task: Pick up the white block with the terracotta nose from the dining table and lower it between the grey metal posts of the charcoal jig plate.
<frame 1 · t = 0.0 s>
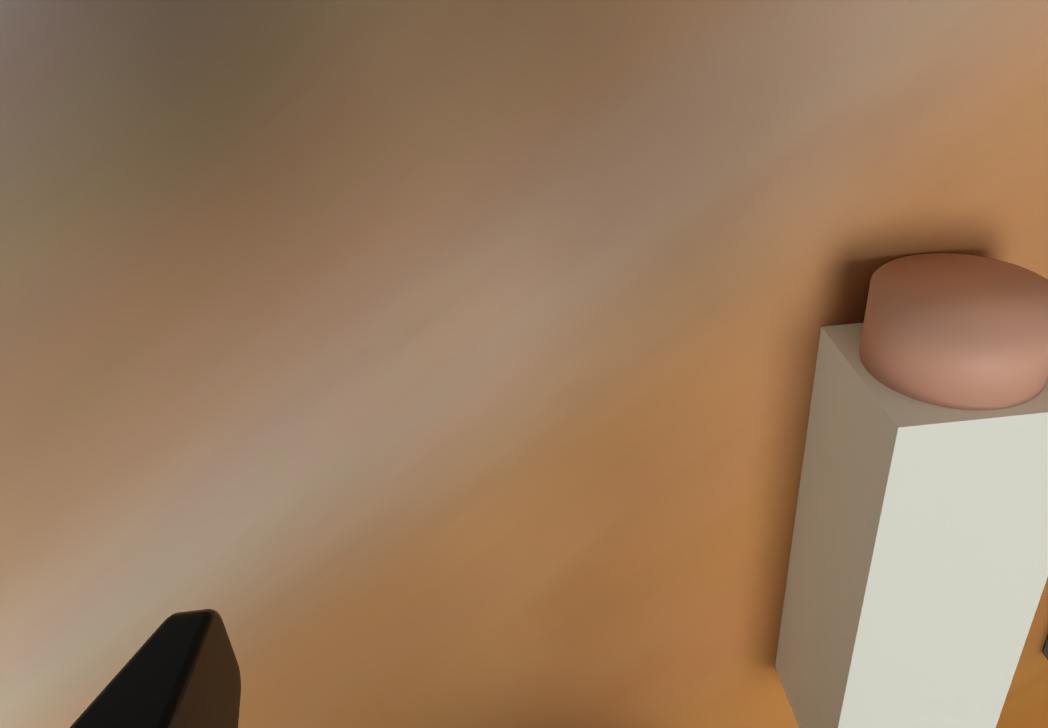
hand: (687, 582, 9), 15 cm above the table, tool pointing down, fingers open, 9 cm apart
white block: (869, 506, 29), on the table
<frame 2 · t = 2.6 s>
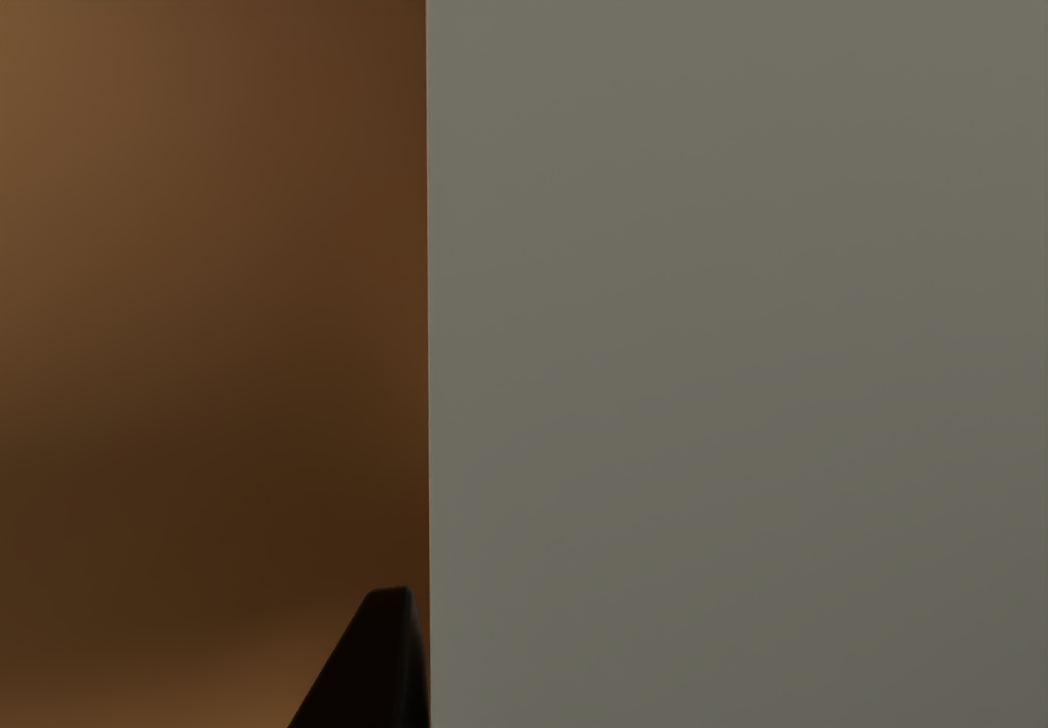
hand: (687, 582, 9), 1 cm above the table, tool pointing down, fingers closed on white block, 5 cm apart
white block: (659, 522, 10), on the table, touching gripper
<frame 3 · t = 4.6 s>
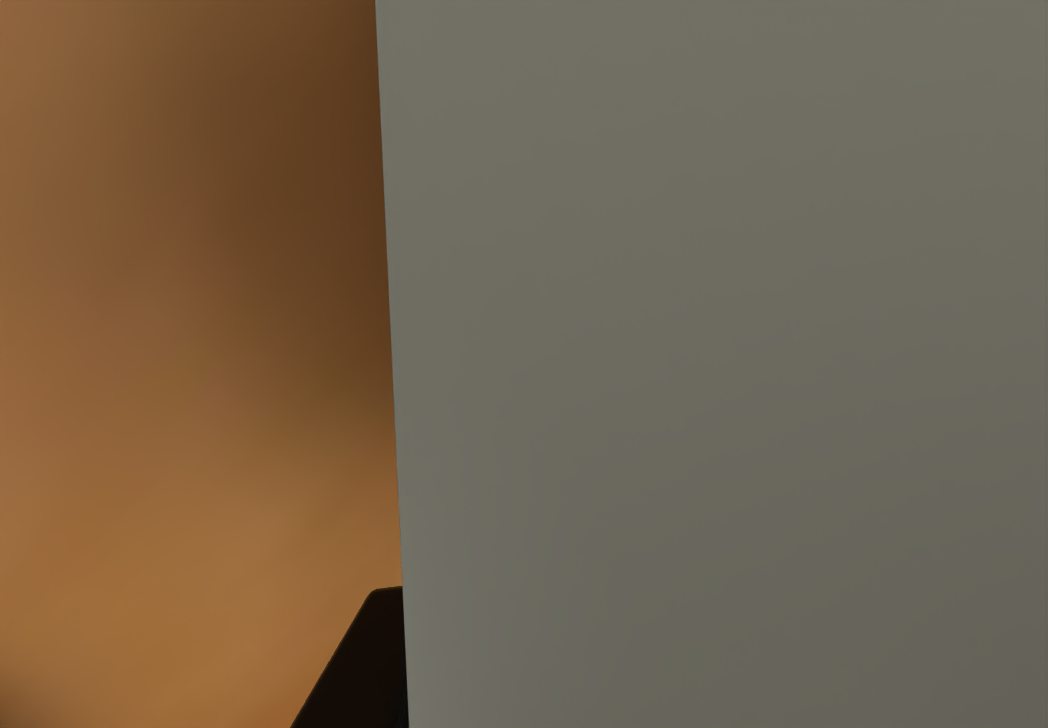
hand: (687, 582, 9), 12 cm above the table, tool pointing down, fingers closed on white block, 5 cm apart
white block: (657, 522, 10), point 10 cm above the table, touching gripper
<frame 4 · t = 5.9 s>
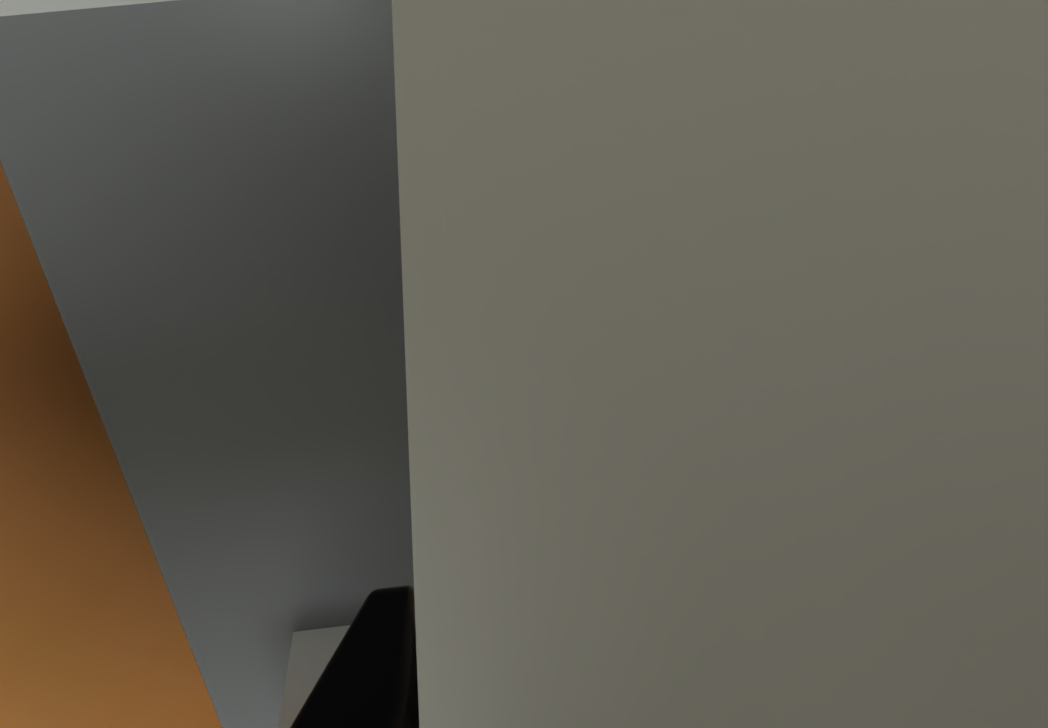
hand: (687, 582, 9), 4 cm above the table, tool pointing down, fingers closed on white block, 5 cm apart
jig: (615, 289, 12), on the table
white block: (661, 521, 10), point 3 cm above the table, touching gripper
when the fingers open (3 cm above the table, at t = 6.8 s): white block drops 1 cm, resting on jig.
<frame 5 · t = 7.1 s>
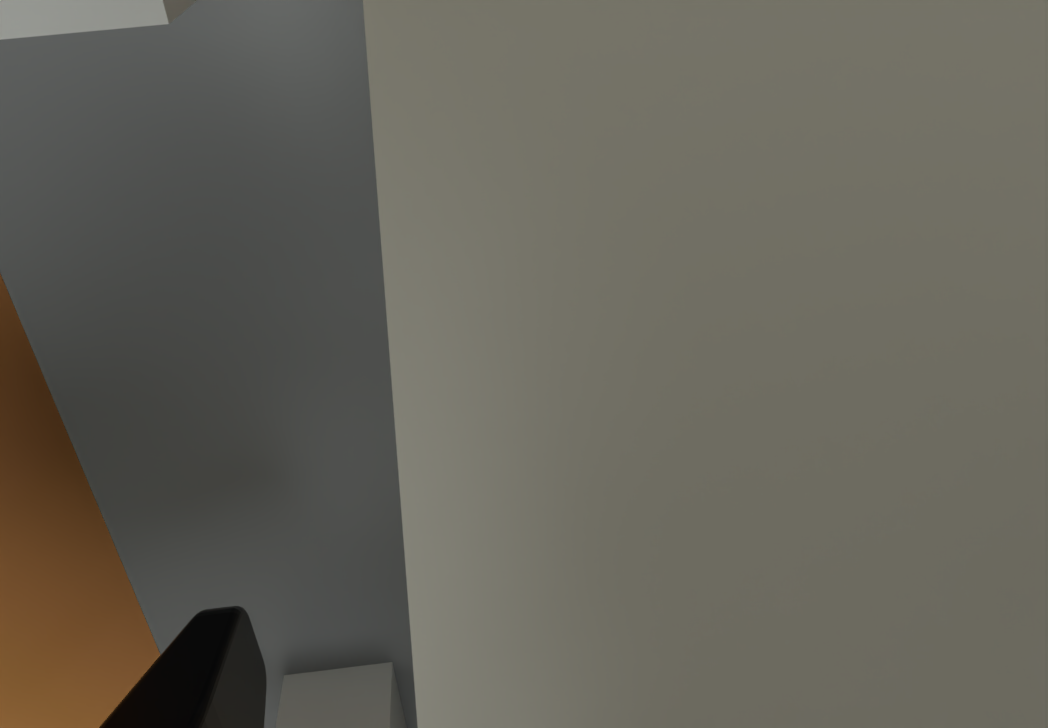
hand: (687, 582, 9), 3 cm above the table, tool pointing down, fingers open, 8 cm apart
jig: (622, 319, 11), on the table
white block: (633, 446, 11), point 1 cm above the table, touching jig
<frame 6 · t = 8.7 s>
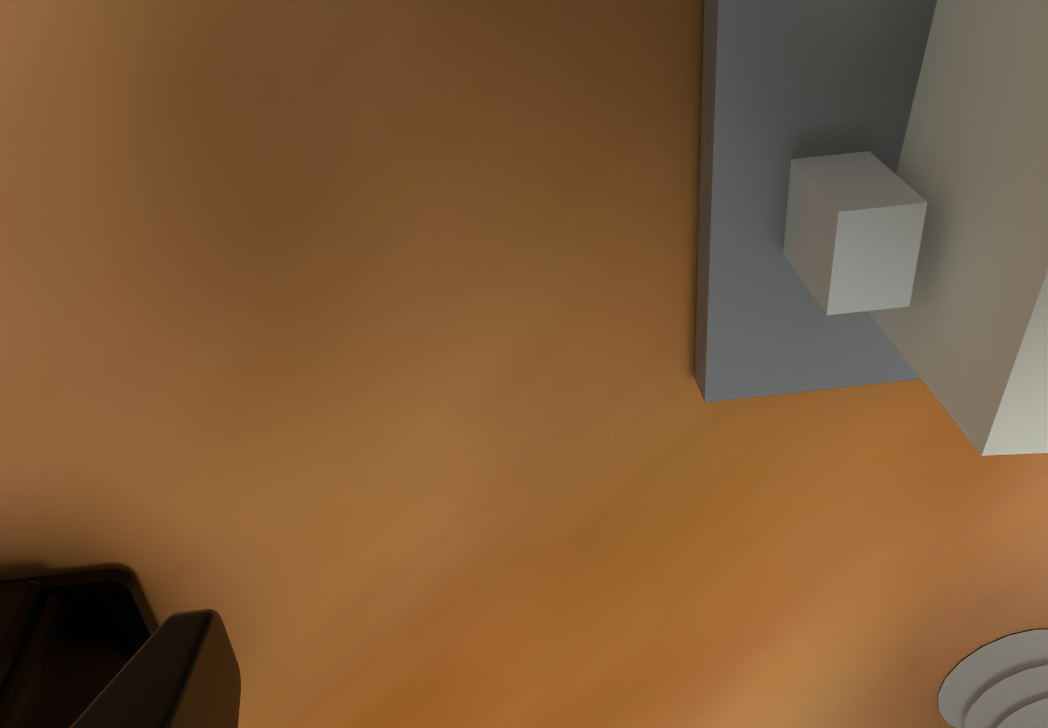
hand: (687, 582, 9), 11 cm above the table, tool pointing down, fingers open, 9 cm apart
chalice: (1014, 679, 28), on the table
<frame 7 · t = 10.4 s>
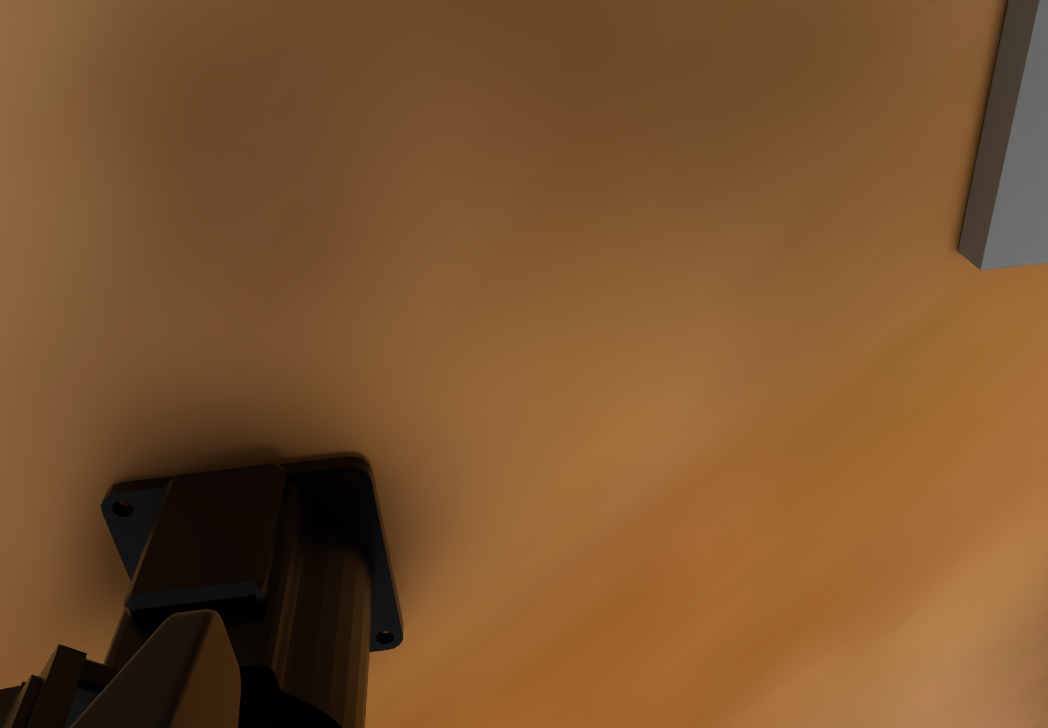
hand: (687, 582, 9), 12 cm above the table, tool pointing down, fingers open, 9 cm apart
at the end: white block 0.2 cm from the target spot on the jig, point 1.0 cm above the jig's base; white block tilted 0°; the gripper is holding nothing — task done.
